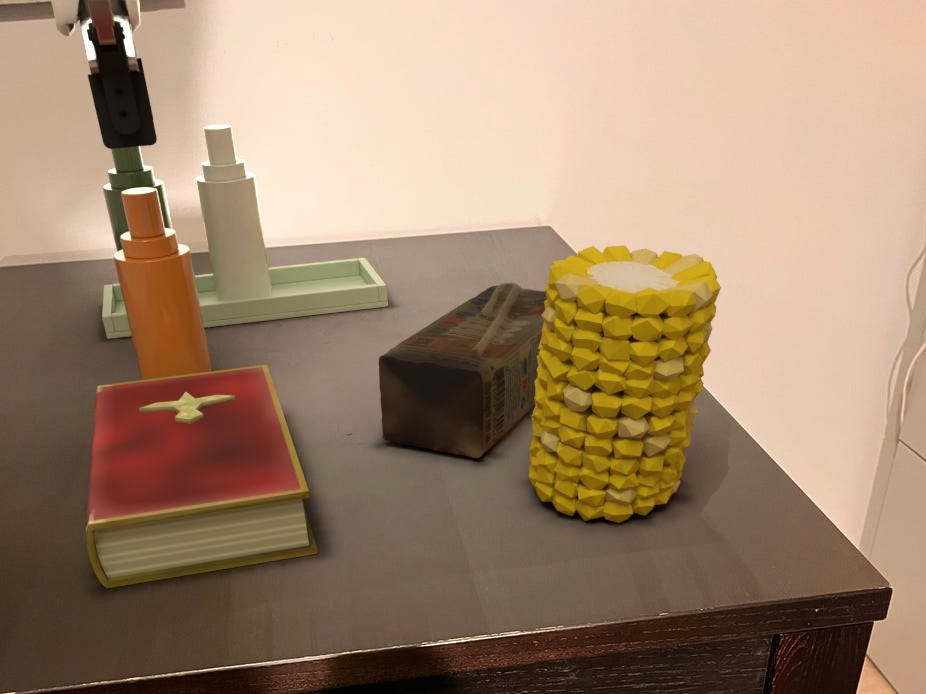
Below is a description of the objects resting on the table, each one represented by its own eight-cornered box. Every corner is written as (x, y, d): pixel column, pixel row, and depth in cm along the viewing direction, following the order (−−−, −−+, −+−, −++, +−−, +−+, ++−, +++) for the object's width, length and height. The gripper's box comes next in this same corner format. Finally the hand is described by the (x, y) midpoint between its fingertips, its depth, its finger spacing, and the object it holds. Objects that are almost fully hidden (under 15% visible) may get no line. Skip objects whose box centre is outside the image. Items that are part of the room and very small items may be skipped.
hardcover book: (98, 589, 55) (78, 521, 52) (105, 439, 72) (90, 382, 69) (317, 553, 57) (308, 486, 55) (275, 416, 74) (266, 360, 72)
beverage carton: (582, 368, 80) (584, 283, 77) (484, 466, 66) (481, 368, 62) (490, 356, 83) (488, 274, 79) (377, 448, 69) (368, 353, 65)
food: (574, 471, 69) (706, 518, 64) (467, 499, 60) (611, 557, 55) (622, 233, 62) (774, 265, 57) (510, 225, 53) (678, 263, 48)
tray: (107, 339, 90) (101, 316, 89) (108, 305, 98) (103, 284, 97) (388, 306, 95) (386, 285, 94) (366, 277, 104) (365, 257, 103)
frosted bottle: (207, 301, 97) (175, 128, 88) (253, 289, 100) (226, 120, 91) (237, 312, 94) (207, 133, 85) (283, 299, 96) (259, 125, 88)
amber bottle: (135, 402, 77) (85, 192, 69) (194, 383, 80) (154, 179, 72) (170, 420, 74) (122, 202, 66) (230, 400, 77) (192, 189, 68)
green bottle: (121, 311, 95) (80, 135, 86) (170, 298, 98) (135, 127, 89) (148, 322, 92) (109, 141, 83) (198, 309, 95) (165, 132, 86)
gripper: (2, -183, 63) (76, 123, 73) (-32, -223, 49) (65, 161, 59) (127, -185, 64) (183, 114, 74) (127, -225, 51) (196, 150, 60)
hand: (131, 135), depth 66 cm, fingers open, 9 cm apart
